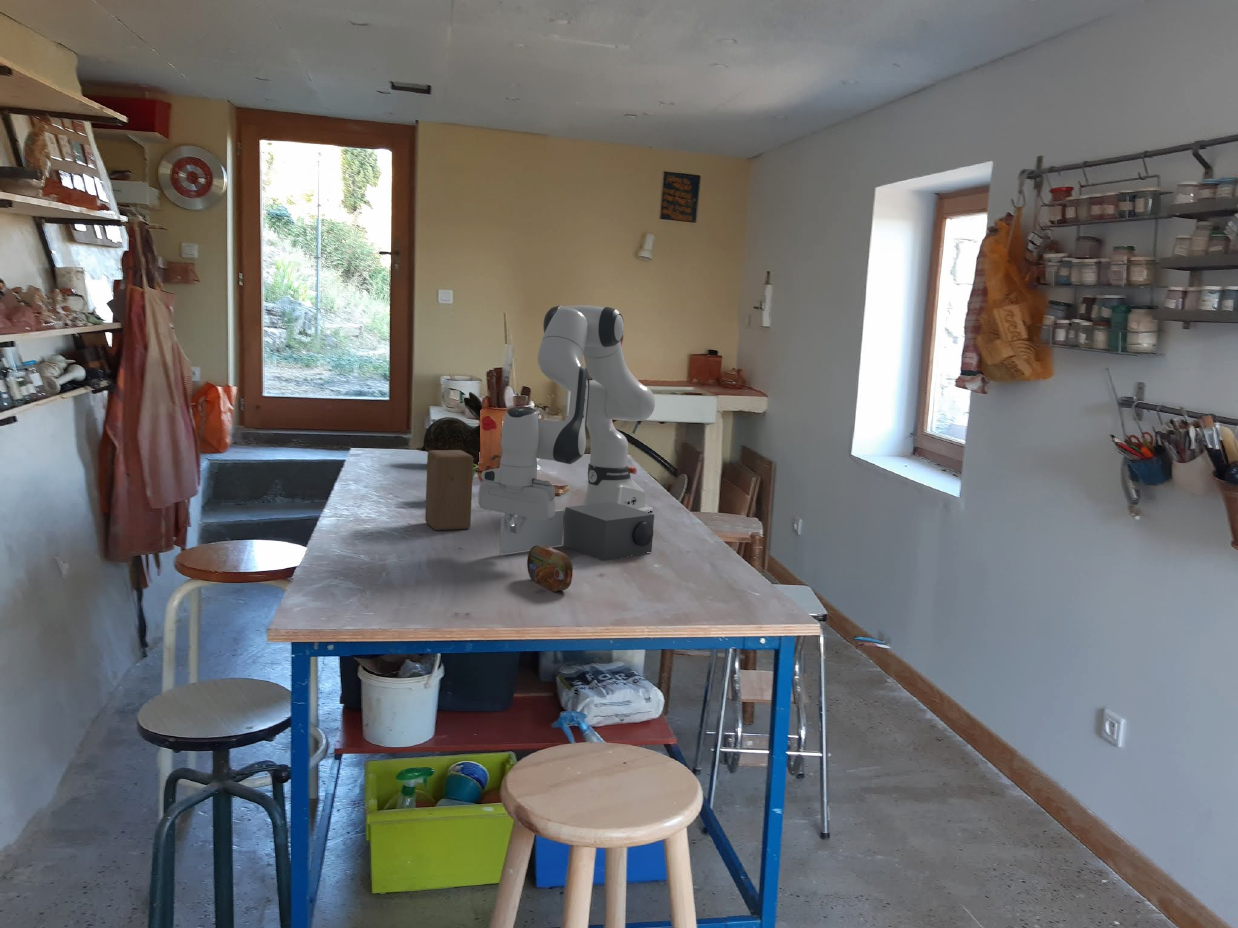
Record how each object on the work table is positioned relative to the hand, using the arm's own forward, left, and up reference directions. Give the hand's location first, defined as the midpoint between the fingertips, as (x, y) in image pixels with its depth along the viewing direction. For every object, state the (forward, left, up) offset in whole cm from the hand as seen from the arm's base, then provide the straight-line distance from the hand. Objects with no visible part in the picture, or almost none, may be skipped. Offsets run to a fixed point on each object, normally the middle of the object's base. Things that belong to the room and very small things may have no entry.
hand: (515, 532), depth 227 cm
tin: (+6, +22, -6) cm, 24 cm away
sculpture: (-51, -106, -6) cm, 118 cm away
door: (-8, -4, -6) cm, 10 cm away
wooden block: (-2, -34, -6) cm, 35 cm away
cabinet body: (-26, +4, -6) cm, 27 cm away
